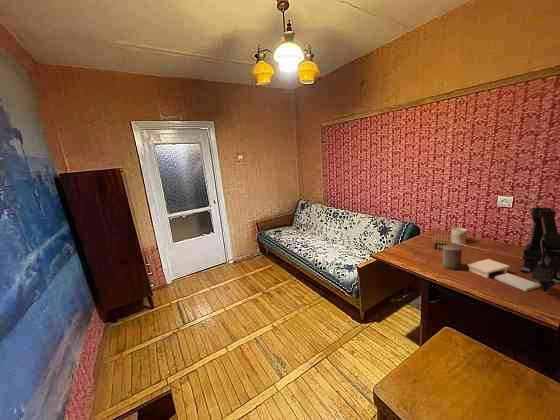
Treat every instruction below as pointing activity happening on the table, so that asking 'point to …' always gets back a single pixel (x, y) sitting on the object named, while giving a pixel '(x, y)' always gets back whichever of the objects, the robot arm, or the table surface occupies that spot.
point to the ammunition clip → (442, 242)
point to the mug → (458, 235)
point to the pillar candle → (452, 257)
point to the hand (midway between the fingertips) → (545, 291)
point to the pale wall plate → (517, 281)
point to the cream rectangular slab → (487, 267)
